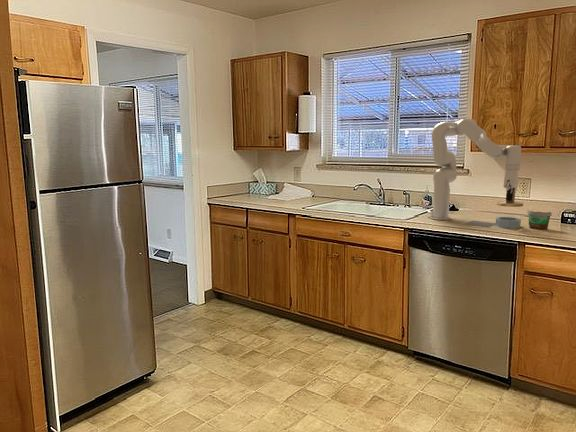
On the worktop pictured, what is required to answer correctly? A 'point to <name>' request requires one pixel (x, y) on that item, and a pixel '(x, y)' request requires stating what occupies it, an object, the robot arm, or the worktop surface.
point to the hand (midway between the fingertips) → (510, 199)
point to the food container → (539, 220)
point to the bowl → (508, 222)
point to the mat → (480, 223)
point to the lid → (510, 202)
